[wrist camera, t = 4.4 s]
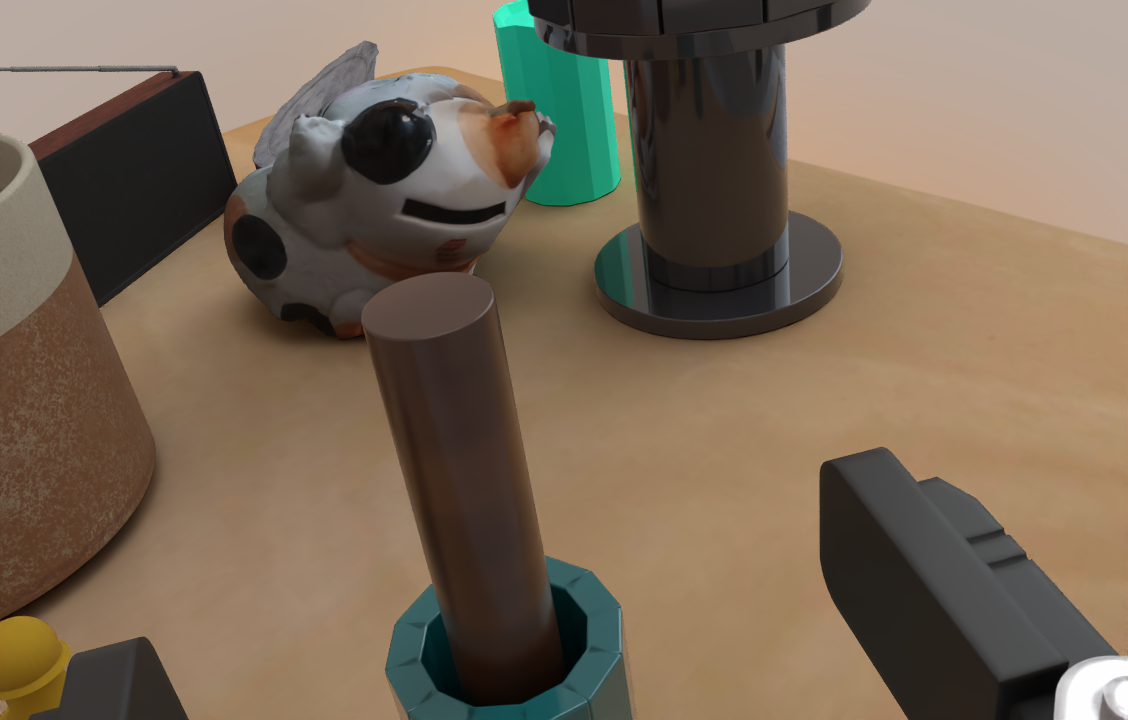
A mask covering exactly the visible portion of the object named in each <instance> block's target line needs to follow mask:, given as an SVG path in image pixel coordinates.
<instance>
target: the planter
mask: <svg viewBox="0 0 1128 720" xmlns="http://www.w3.org/2000/svg"><path fill="white" fill-rule="evenodd" d="M154 463H155V444H154V439H153V436H152V433H151V431H150V428H149V426H148V424H147V421H146V419H145V416H144V414H143V412H142V409H141V407H140V405H139V402H138V400H137V398H136V395H135V393H134V390H133V388H132V386H131V383H130V381H129V379H128V376H127V374H126V372H125V369H124V367H123V364H122V362H121V360H120V357H119V355H118V353H117V350H116V348H115V345H114V343H113V341H112V338H111V336H110V334H109V331H108V329H107V326H106V324H105V322H104V319H103V317H102V315H101V312H100V310H99V308H98V305H97V303H96V300H95V298H94V296H93V293H92V291H91V289H90V286H89V284H88V281H87V279H86V277H85V274H84V272H83V270H82V267H81V265H80V263H79V260H78V258H77V255H76V253H75V251H74V248H73V246H72V244H71V241H70V239H69V236H68V234H67V232H66V229H65V227H64V225H63V222H62V220H61V218H60V215H59V213H58V210H57V208H56V206H55V203H54V201H53V199H52V196H51V194H50V192H49V189H48V187H47V185H46V182H45V180H44V177H43V175H42V173H41V170H40V168H39V166H38V163H37V161H36V159H35V156H34V154H33V152H32V150H31V149H30V148H29V147H28V146H27V145H26V144H25V143H23V142H22V141H20V140H18V139H16V138H13V137H11V136H8V135H4V134H0V619H1V618H3V617H5V616H7V615H9V614H11V613H12V612H14V611H16V610H18V609H20V608H21V607H23V606H25V605H27V604H28V603H30V602H32V601H33V600H35V599H36V598H38V597H40V596H41V595H43V594H44V593H46V592H47V591H49V590H50V589H52V588H53V587H55V586H56V585H58V584H59V583H60V582H62V581H63V580H64V579H66V578H67V577H68V576H70V575H71V574H72V573H74V572H75V571H76V570H77V569H79V568H80V567H81V566H82V565H83V564H85V563H86V562H87V561H88V560H89V559H91V558H92V557H93V556H94V555H95V554H96V553H97V552H98V551H99V550H100V549H102V548H103V547H104V546H105V545H106V544H107V543H108V542H109V541H110V540H111V539H112V538H113V537H114V535H115V534H116V533H117V532H118V531H119V530H120V529H121V528H122V526H123V525H124V524H125V523H126V521H127V520H128V519H129V518H130V516H131V515H132V514H133V512H134V511H135V509H136V508H137V506H138V505H139V503H140V501H141V500H142V498H143V496H144V494H145V492H146V490H147V488H148V485H149V483H150V480H151V477H152V473H153V469H154Z"/></svg>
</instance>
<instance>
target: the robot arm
mask: <svg viewBox="0 0 1128 720" xmlns="http://www.w3.org/2000/svg"><path fill="white" fill-rule="evenodd" d="M820 561H821V567H822V572H823V576H824V579H825V582H826V585H827V588H828V591H829V593H830V595H831V598H832V600H833V602H834V604H835V605H836V607H837V609H838V610H839V612H840V613H841V615H842V616H843V618H844V620H845V621H846V623H847V624H848V626H849V627H850V629H851V630H852V632H853V634H854V635H855V637H856V638H857V640H858V641H859V643H860V645H861V646H862V648H863V649H864V651H865V652H866V654H867V656H868V657H869V659H870V660H871V662H872V663H873V665H874V666H875V668H876V670H877V671H878V673H879V674H880V676H881V677H882V679H883V681H884V682H885V684H886V685H887V687H888V688H889V690H890V691H891V693H892V695H893V696H894V698H895V699H896V701H897V702H898V704H899V706H900V707H901V709H902V710H903V712H904V713H905V715H906V717H907V718H908V720H1128V657H1125V656H1120V655H1119V654H1118V653H1117V652H1116V651H1115V650H1114V649H1113V648H1112V647H1111V646H1110V645H1109V644H1108V643H1107V641H1106V640H1105V639H1104V638H1103V637H1102V636H1101V635H1100V634H1099V633H1098V632H1097V630H1096V629H1095V628H1094V627H1093V626H1092V625H1091V624H1090V623H1089V622H1088V621H1087V619H1086V618H1085V617H1084V616H1083V615H1082V614H1081V613H1080V612H1079V611H1078V610H1077V608H1076V607H1075V606H1074V605H1073V604H1072V603H1071V602H1070V601H1069V600H1068V599H1067V597H1066V596H1065V595H1064V594H1063V593H1062V592H1061V591H1060V590H1059V589H1058V588H1057V586H1056V585H1055V584H1054V583H1053V582H1052V581H1051V580H1050V579H1049V578H1048V577H1047V575H1046V574H1045V573H1044V572H1043V571H1042V570H1041V569H1040V568H1039V567H1038V566H1037V564H1036V563H1035V562H1034V561H1033V560H1032V559H1031V560H1028V558H1027V556H1026V552H1025V551H1024V550H1023V549H1022V548H1021V547H1020V546H1019V545H1018V544H1017V542H1016V541H1015V540H1014V539H1013V538H1012V537H1011V536H1010V535H1006V534H1005V532H1004V528H1003V527H1002V526H1001V525H1000V524H999V523H998V522H997V521H996V519H995V518H994V517H993V516H992V515H991V514H990V513H989V512H988V511H987V510H986V508H985V507H984V506H983V505H982V504H981V503H980V502H979V501H978V500H977V499H976V498H974V497H973V496H971V495H969V494H967V493H965V492H964V491H962V490H960V489H958V488H956V487H955V486H953V485H951V484H949V483H947V482H946V481H944V480H942V479H940V478H938V477H934V478H931V479H927V480H923V481H919V482H917V481H916V480H915V479H914V478H913V477H912V476H911V474H910V473H909V472H908V471H907V470H906V468H905V467H904V466H903V465H902V464H901V463H900V461H899V460H898V459H897V458H896V457H895V456H894V454H893V453H892V452H891V451H889V450H888V449H886V448H884V447H879V448H875V449H872V450H868V451H864V452H860V453H856V454H852V455H848V456H845V457H841V458H837V459H833V460H829V461H826V462H824V463H823V464H822V466H821V469H820ZM28 720H189V719H188V717H187V715H186V713H185V711H184V709H183V707H182V705H181V703H180V701H179V699H178V696H177V694H176V692H175V690H174V688H173V686H172V684H171V682H170V680H169V678H168V676H167V674H166V672H165V670H164V668H163V665H162V663H161V661H160V659H159V657H158V655H157V653H156V651H155V649H154V647H153V645H152V644H151V642H150V641H149V640H148V639H147V638H145V637H139V638H135V639H131V640H127V641H123V642H119V643H115V644H112V645H108V646H104V647H100V648H96V649H92V650H88V651H85V652H81V653H77V654H75V655H73V657H72V658H71V660H70V662H69V665H68V668H67V673H66V677H65V682H64V687H63V691H62V696H61V700H60V705H59V707H58V708H54V709H51V710H47V711H43V712H39V713H36V714H32V715H31V716H30V717H29V719H28Z"/></svg>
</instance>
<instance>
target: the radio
mask: <svg viewBox="0 0 1128 720" xmlns="http://www.w3.org/2000/svg"><path fill="white" fill-rule="evenodd" d="M0 71H12V72H28V71H29V72H31V71H32V72H33V71H99V72H108V71H109V72H112V71H113V72H115V71H172V72H161V73H158V74H156V75H155V76H153V77H151V78H149V79H147V80H145V81H144V82H142V83H140V84H138V85H136V86H134V87H133V88H131V89H129V90H127V91H125V92H123V93H122V94H120V95H118V96H116V97H114V98H113V99H111V100H109V101H107V102H105V103H103V104H102V105H100V106H98V107H96V108H94V109H93V110H91V111H89V112H87V113H85V114H83V115H82V116H80V117H78V118H76V119H74V120H72V121H70V122H69V123H67V124H65V125H63V126H61V127H60V128H58V129H56V130H54V131H52V132H50V133H48V134H47V135H45V136H43V137H41V138H39V139H37V140H36V141H34V142H32V143H30V144H28V145H27V146H28V147H29V148H30V149H31V150H32V152H33V154H34V156H35V159H36V161H37V163H38V166H39V168H40V170H41V173H42V175H43V177H44V180H45V182H46V185H47V187H48V189H49V192H50V194H51V196H52V199H53V201H54V203H55V206H56V208H57V210H58V213H59V215H60V218H61V220H62V222H63V225H64V227H65V229H66V232H67V234H68V236H69V239H70V241H71V244H72V246H73V248H74V251H75V253H76V255H77V258H78V260H79V263H80V265H81V267H82V270H83V272H84V274H85V277H86V279H87V281H88V284H89V286H90V289H91V291H92V293H93V296H94V298H95V300H96V303H97V305H98V308H100V307H101V306H102V305H103V304H105V303H106V302H107V301H109V300H110V299H111V298H113V297H114V296H115V295H117V294H118V293H119V292H120V291H122V290H123V289H124V288H126V287H127V286H128V285H130V284H131V283H132V282H133V281H135V280H136V279H137V278H139V277H140V276H141V275H143V274H144V273H145V272H146V271H148V270H149V269H150V268H152V267H153V266H154V265H156V264H157V263H158V262H160V261H161V260H162V259H163V258H165V257H166V256H167V255H169V254H170V253H171V252H173V251H174V250H175V249H176V248H178V247H179V246H180V245H182V244H183V243H184V242H186V241H187V240H188V239H190V238H191V237H192V236H193V235H195V234H196V233H197V232H199V231H200V230H201V229H203V228H204V227H205V226H206V225H208V224H209V223H210V222H212V221H213V220H214V219H216V218H217V217H218V216H219V215H221V214H222V213H223V212H225V208H226V205H227V202H228V200H229V198H230V196H231V194H232V193H233V192H234V190H235V189H236V188H237V186H238V185H237V182H236V179H235V175H234V172H233V169H232V166H231V163H230V160H229V157H228V154H227V151H226V147H225V144H224V141H223V138H222V135H221V132H220V129H219V126H218V122H217V119H216V116H215V113H214V110H213V107H212V104H211V101H210V98H209V95H208V91H207V88H206V85H205V82H204V79H203V76H202V74H201V73H200V72H199V71H185V72H184V71H183V72H179V71H178V69H177V67H176V66H98V67H9V68H0Z"/></svg>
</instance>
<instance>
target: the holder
mask: <svg viewBox="0 0 1128 720" xmlns="http://www.w3.org/2000/svg"><path fill="white" fill-rule="evenodd" d="M544 556H545V555H544ZM545 561H546V566H547V572H548V577H549V582H550V587H551V592H552V598H553V603H554V608H555V613H556V619H557V624H558V629H559V634H560V640H561V645H562V650H563V655H564V661H565V666H566V671H567V677H566V678H565V680H564V681H563V682H562V683H560V684H559V685H557V686H555V687H553V688H551V689H549V690H547V691H545V692H543V693H541V694H539V695H537V696H535V697H534V698H532V699H530V700H528V701H526V702H524V703H522V704H510V705H495V706H479V707H474V706H472V705H469V704H467V703H465V701H464V697H463V693H462V690H461V686H460V682H459V679H458V675H457V671H456V668H455V664H454V660H453V657H452V653H451V649H450V646H449V642H448V638H447V635H446V631H445V627H444V624H443V620H442V616H441V613H440V609H439V605H438V602H437V598H436V594H435V591H434V587H433V584H431V585H430V586H429V587H428V588H427V589H426V590H425V591H424V592H423V593H422V594H421V595H420V596H419V598H418V599H417V600H416V601H415V602H414V603H413V604H412V605H411V606H410V607H409V608H408V610H407V611H406V612H405V613H404V614H403V615H402V616H401V617H400V618H399V619H398V620H397V623H396V624H395V626H394V631H393V635H392V640H391V644H390V649H389V654H388V658H387V663H386V668H385V671H386V673H385V674H386V677H387V680H388V683H389V686H390V689H391V692H392V695H393V698H394V702H395V705H396V708H397V711H398V714H399V717H400V720H638V718H637V711H636V704H635V697H634V690H633V683H632V676H631V669H630V662H629V655H628V648H627V641H626V634H625V627H624V620H623V614H622V610H621V605H620V604H619V603H618V602H617V601H616V599H615V598H614V597H613V596H612V595H611V594H610V592H609V591H608V590H607V589H606V588H605V586H604V585H603V584H602V583H601V582H600V581H599V579H598V578H597V577H596V576H595V575H594V574H593V572H592V571H589V570H587V569H584V568H581V567H578V566H575V565H572V564H569V563H566V562H563V561H560V560H557V559H554V558H551V557H548V556H545Z"/></svg>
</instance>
